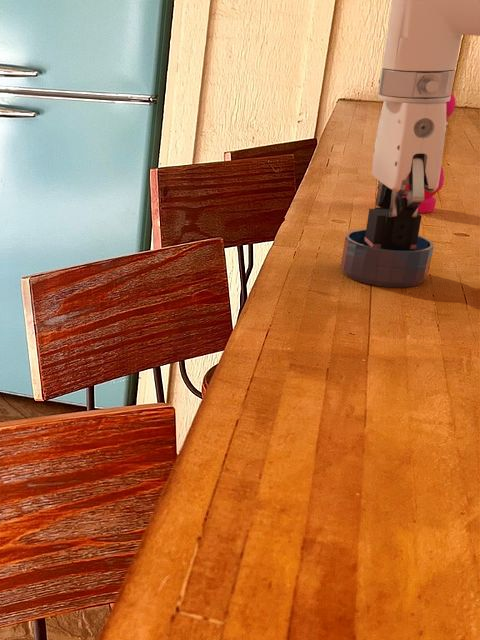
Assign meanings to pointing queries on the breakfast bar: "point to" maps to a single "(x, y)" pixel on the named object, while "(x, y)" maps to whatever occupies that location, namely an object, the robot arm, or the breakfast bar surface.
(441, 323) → the breakfast bar surface
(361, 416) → the breakfast bar surface
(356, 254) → the bowl
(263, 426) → the breakfast bar surface
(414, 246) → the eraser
